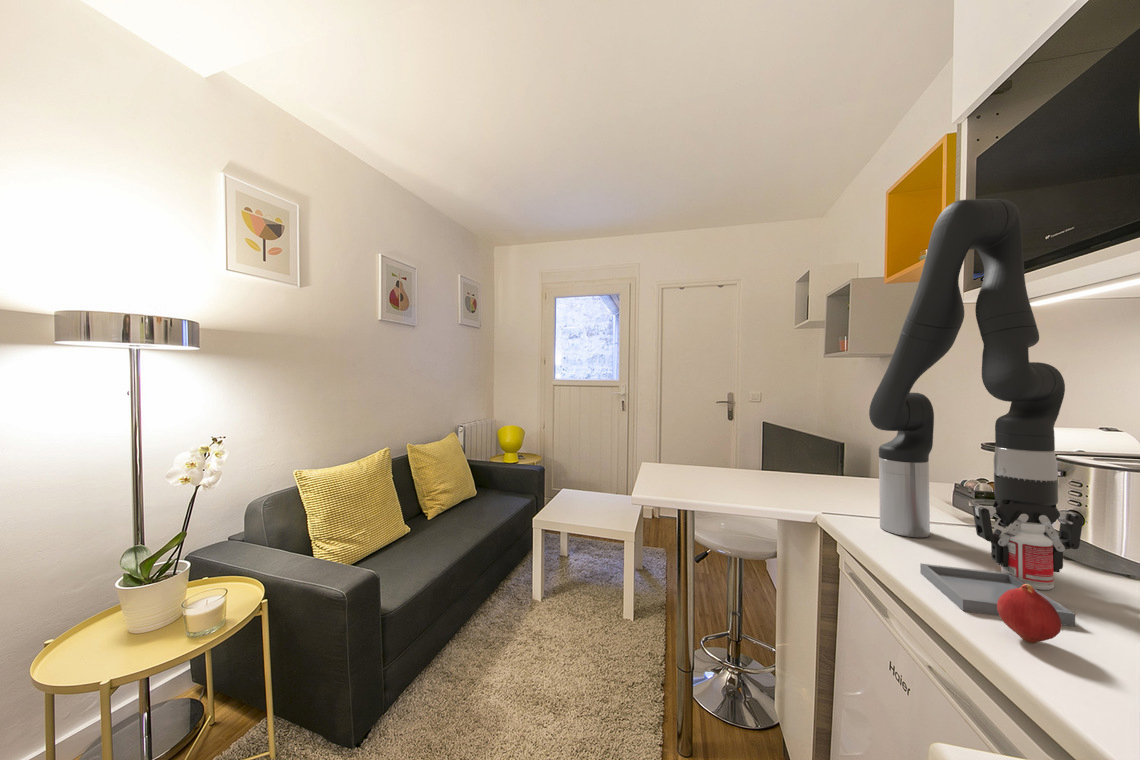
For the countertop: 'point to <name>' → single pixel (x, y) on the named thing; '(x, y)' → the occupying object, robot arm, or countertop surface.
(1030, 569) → the pill bottle
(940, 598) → the countertop surface
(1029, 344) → the robot arm
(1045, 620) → the onion
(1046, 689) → the countertop surface
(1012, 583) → the slate dish
